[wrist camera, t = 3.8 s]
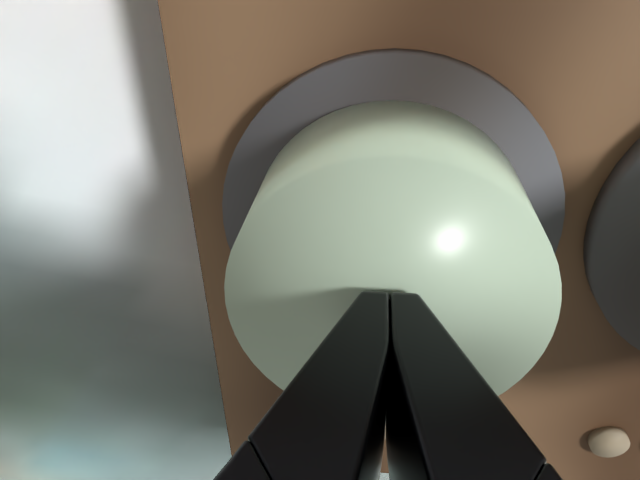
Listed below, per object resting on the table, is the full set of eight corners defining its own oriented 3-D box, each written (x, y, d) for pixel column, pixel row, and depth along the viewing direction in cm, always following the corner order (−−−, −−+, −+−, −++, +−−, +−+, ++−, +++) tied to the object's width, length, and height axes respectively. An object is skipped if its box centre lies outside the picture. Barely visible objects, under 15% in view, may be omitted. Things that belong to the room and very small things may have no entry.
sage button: (550, 102, 9) (600, 160, 7) (502, 339, 11) (528, 433, 9) (245, 98, 9) (204, 151, 7) (266, 326, 12) (241, 413, 10)
